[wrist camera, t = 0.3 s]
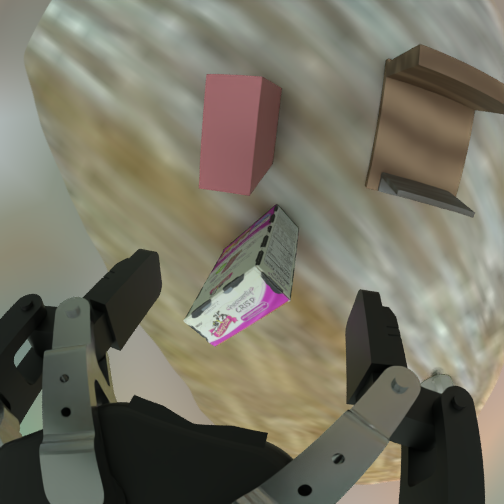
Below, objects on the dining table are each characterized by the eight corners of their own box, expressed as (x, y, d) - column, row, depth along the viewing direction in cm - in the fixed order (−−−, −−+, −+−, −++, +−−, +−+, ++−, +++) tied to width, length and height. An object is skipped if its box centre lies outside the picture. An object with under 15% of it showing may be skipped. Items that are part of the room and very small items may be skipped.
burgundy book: (245, 84, 32) (206, 74, 20) (281, 88, 31) (262, 76, 19) (238, 159, 37) (199, 188, 25) (272, 163, 36) (249, 195, 24)
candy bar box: (246, 271, 45) (214, 349, 31) (223, 249, 44) (179, 320, 30) (302, 228, 40) (292, 302, 26) (277, 202, 39) (253, 264, 24)
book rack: (385, 60, 26) (420, 39, 15) (472, 92, 25) (529, 96, 14) (365, 185, 35) (386, 224, 24) (448, 207, 33) (491, 251, 22)
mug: (436, 398, 52) (443, 432, 43) (406, 395, 52) (411, 432, 44) (463, 370, 46) (474, 405, 38) (433, 365, 47) (443, 404, 38)
